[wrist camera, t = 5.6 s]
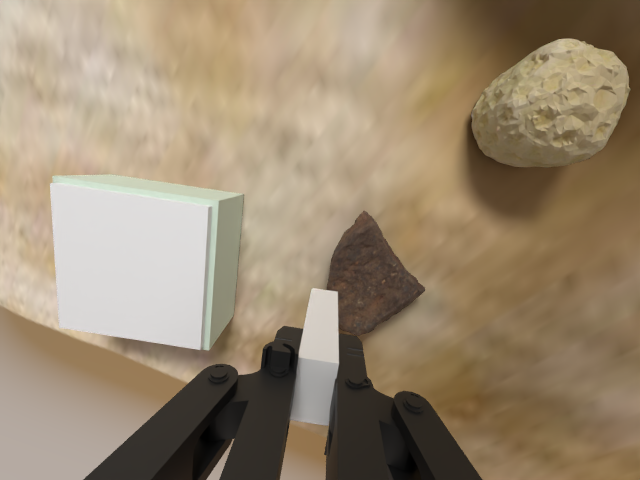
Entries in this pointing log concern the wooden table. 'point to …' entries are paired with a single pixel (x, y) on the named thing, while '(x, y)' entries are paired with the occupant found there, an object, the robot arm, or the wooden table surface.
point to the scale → (145, 258)
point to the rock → (368, 278)
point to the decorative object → (552, 106)
